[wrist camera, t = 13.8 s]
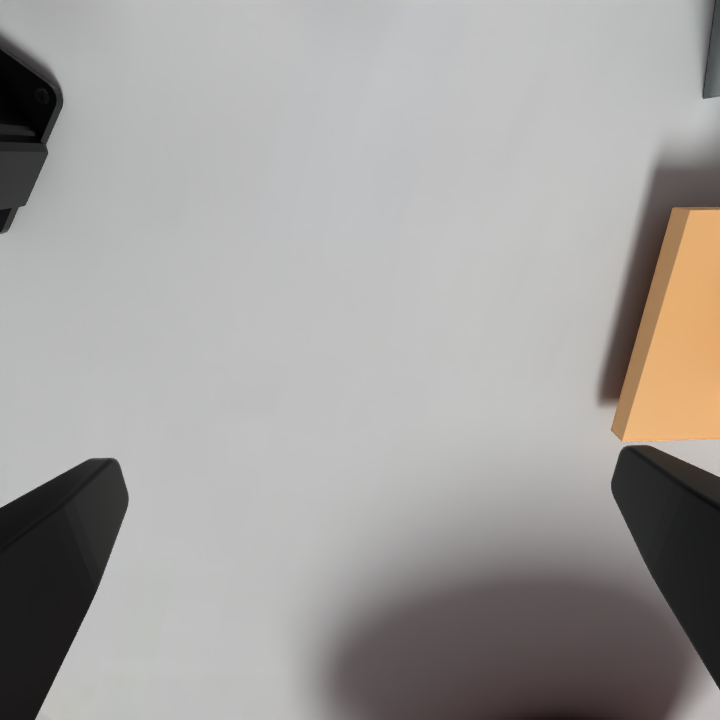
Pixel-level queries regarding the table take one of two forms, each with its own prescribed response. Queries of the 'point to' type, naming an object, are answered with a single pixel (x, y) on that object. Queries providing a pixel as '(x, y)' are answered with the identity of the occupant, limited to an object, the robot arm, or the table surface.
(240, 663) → the table surface
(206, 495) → the table surface
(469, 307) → the table surface
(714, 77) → the tub
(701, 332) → the lid
